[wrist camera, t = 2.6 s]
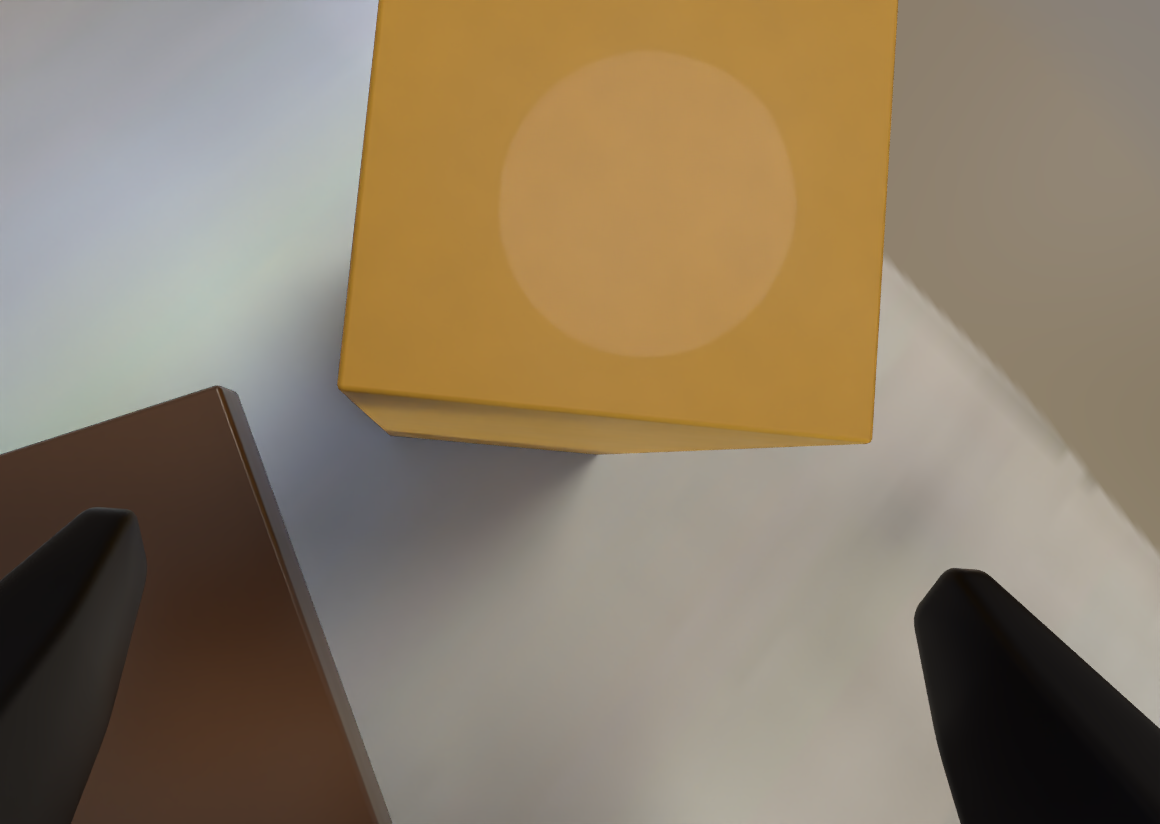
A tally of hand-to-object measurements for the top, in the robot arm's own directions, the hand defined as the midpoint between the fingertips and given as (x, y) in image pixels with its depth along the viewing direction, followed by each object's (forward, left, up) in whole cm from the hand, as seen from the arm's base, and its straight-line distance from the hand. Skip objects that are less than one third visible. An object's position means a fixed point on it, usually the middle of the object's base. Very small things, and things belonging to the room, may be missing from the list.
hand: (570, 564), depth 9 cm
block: (+4, -2, -11) cm, 11 cm away
